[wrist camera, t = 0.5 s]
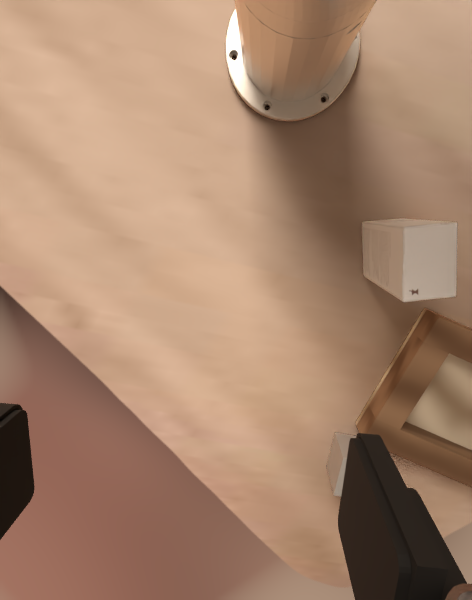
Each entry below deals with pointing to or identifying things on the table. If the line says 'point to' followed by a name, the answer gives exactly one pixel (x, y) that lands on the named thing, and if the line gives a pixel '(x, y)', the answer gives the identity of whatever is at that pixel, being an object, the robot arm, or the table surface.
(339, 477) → the grey cube
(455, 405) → the socket block
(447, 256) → the skincare box
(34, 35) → the table surface
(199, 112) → the table surface
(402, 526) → the robot arm
